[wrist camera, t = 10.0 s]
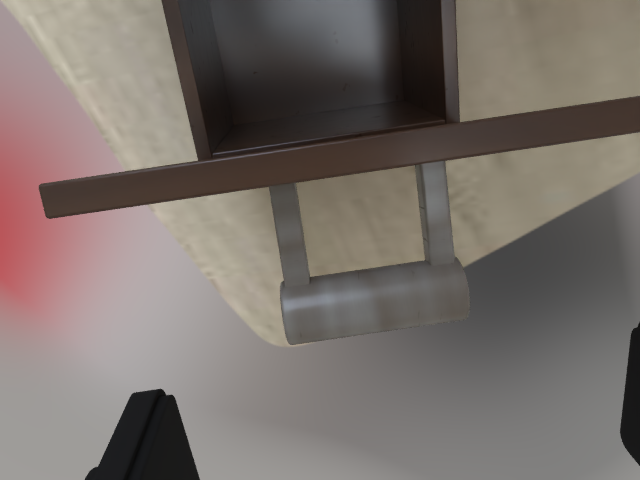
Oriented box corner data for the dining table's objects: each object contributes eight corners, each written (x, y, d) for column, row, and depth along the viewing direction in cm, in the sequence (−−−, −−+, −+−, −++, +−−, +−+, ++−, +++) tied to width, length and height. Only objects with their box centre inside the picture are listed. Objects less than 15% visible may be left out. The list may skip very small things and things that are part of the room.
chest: (178, -100, 33) (121, -173, 22) (396, -133, 33) (448, -222, 22) (226, 135, 39) (200, 169, 28) (413, 107, 39) (460, 131, 28)
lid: (36, 184, 11) (90, 405, 12) (685, 89, 11) (688, 319, 12) (197, 164, 27) (215, 260, 28) (462, 125, 27) (471, 222, 28)
